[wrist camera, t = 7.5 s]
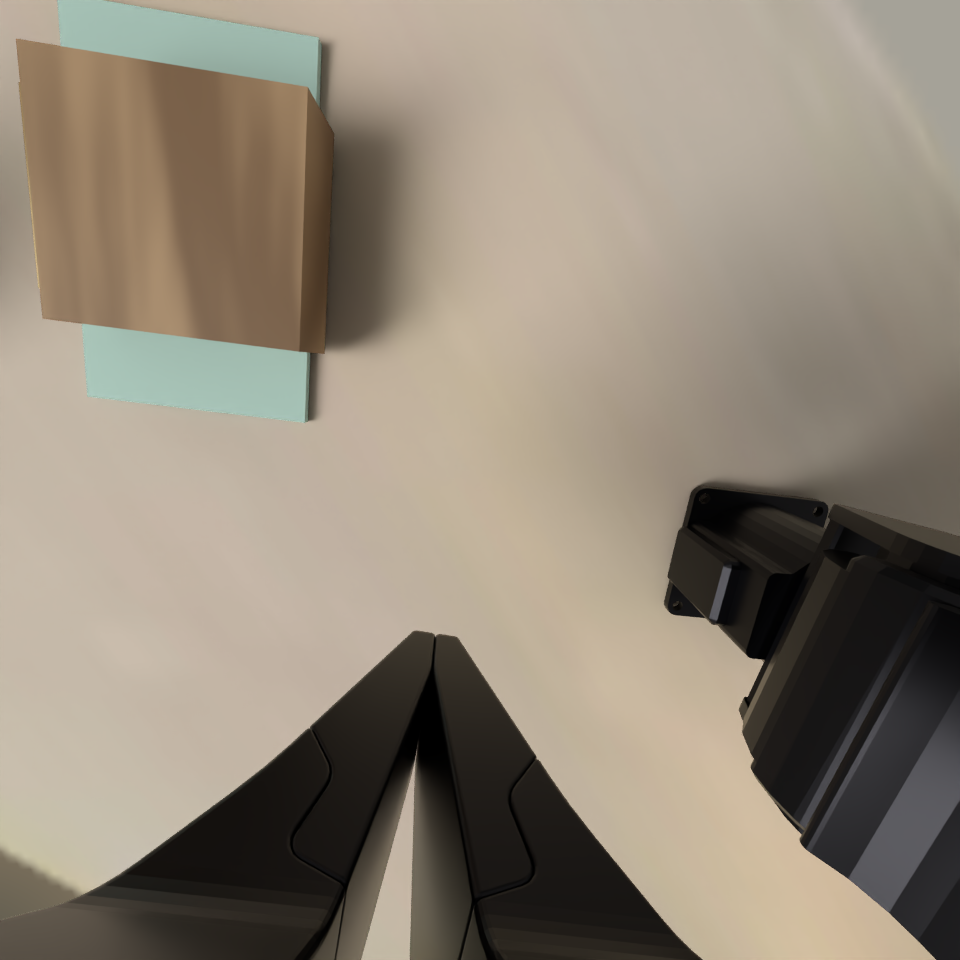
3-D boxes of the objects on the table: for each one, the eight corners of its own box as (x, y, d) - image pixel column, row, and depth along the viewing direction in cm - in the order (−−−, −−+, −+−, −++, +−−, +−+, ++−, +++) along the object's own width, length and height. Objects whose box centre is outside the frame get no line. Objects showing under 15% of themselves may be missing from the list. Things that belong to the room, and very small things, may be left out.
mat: (321, 44, 17) (318, 37, 17) (307, 421, 20) (304, 422, 20) (66, 1, 16) (56, -8, 16) (94, 395, 20) (87, 396, 19)
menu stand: (307, 86, 14) (5, 36, 14) (299, 351, 16) (33, 317, 16) (335, 135, 17) (88, 96, 17) (325, 353, 19) (103, 325, 19)
